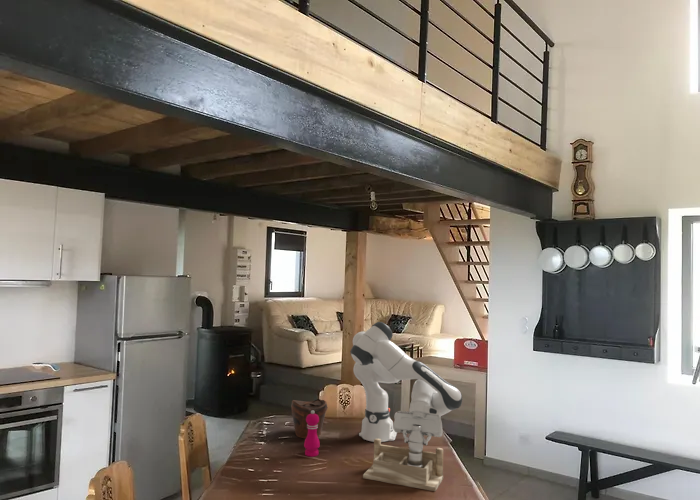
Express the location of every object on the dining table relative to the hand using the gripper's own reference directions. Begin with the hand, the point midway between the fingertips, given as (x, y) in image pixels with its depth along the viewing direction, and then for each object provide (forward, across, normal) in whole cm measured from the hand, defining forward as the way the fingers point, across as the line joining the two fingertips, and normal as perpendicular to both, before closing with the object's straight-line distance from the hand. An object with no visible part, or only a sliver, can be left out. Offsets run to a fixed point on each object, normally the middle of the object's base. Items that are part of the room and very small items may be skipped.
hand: (415, 443), depth 218 cm
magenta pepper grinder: (0, -50, +23) cm, 54 cm away
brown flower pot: (-19, -60, +42) cm, 76 cm away
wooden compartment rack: (+10, -5, +12) cm, 16 cm away
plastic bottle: (+10, 0, +9) cm, 13 cm away
